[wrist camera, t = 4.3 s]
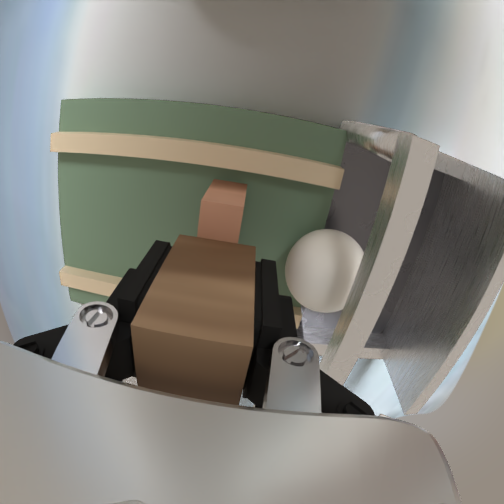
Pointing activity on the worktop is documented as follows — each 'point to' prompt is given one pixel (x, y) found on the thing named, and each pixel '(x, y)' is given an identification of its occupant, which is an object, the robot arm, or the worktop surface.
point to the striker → (201, 307)
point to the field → (183, 182)
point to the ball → (323, 269)
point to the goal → (410, 260)
